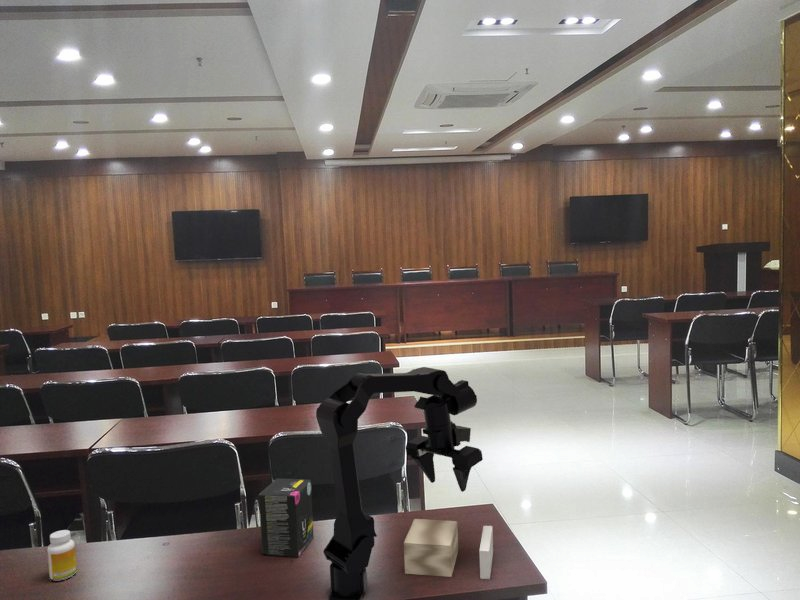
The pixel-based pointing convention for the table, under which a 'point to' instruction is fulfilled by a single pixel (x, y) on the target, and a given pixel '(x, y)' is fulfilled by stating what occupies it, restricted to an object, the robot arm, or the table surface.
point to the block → (431, 547)
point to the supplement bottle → (61, 555)
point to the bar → (486, 552)
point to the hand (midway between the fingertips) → (448, 486)
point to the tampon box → (286, 517)
